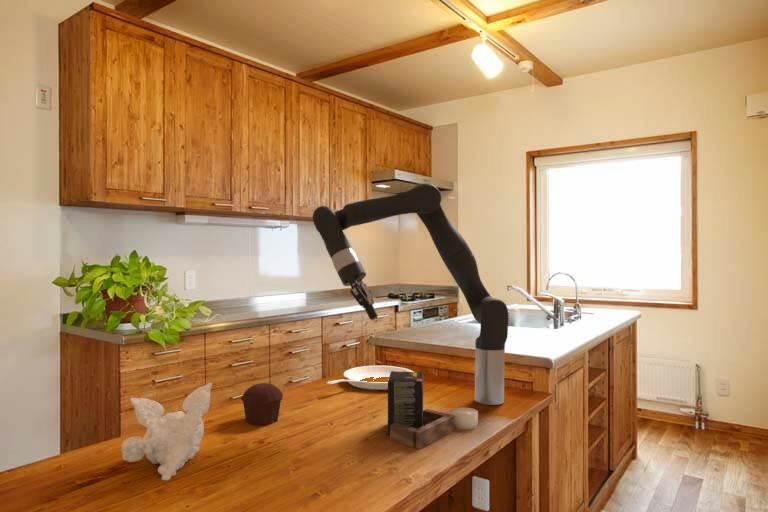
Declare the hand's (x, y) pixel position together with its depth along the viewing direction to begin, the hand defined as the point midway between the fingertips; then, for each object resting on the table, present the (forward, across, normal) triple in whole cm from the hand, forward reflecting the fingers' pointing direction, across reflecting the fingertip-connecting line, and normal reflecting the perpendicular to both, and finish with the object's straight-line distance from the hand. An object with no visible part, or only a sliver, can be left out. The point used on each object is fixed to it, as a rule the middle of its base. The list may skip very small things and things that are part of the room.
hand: (374, 318), depth 150 cm
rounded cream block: (+38, +5, -8) cm, 39 cm away
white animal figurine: (+13, -40, +47) cm, 63 cm away
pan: (+14, +36, +22) cm, 45 cm away
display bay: (+34, -6, +1) cm, 35 cm away
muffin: (+11, -9, +40) cm, 42 cm away
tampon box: (+31, -3, +5) cm, 32 cm away
